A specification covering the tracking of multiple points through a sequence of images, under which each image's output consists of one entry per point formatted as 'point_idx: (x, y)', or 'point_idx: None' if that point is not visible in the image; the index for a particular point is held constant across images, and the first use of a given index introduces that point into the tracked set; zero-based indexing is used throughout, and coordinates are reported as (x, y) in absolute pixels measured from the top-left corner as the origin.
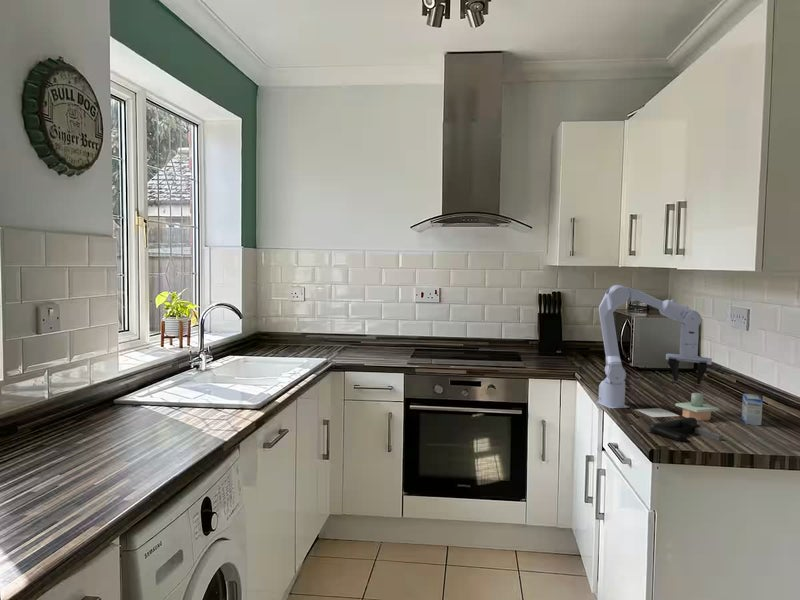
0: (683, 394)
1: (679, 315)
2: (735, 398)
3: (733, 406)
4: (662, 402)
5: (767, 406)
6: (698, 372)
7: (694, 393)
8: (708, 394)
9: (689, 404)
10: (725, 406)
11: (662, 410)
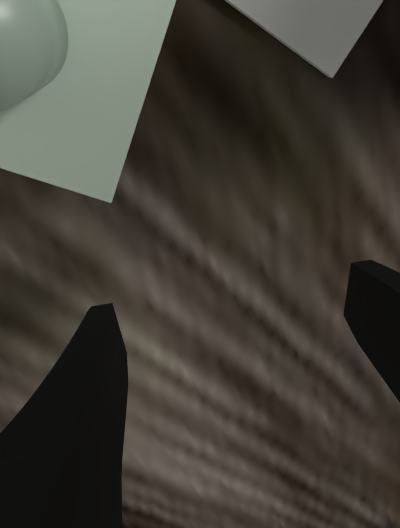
0: (319, 447)
1: None
2: (158, 520)
3: None
4: None
5: None
6: (62, 418)
7: (2, 28)
8: (248, 501)
9: (81, 18)
10: None
11: (302, 9)
